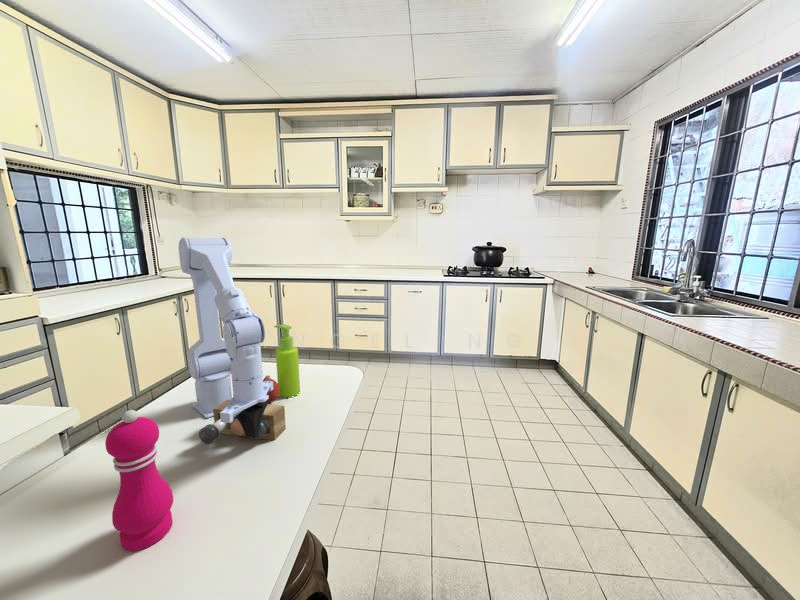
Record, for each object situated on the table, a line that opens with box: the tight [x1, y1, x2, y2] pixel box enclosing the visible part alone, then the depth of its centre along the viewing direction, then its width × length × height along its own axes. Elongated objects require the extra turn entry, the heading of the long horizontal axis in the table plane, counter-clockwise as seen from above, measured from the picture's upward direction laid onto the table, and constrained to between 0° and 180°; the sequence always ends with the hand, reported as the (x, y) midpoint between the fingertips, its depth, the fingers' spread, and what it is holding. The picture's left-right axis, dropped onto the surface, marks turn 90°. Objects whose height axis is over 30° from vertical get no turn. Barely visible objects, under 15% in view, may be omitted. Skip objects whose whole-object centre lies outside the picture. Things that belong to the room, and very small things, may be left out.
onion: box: [263, 374, 280, 404], centre depth 89 cm, size 6×6×8 cm
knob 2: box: [254, 418, 270, 440], centre depth 75 cm, size 4×6×4 cm, turn 169°
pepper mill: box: [104, 409, 174, 552], centre depth 49 cm, size 7×7×20 cm
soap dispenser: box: [274, 323, 301, 398], centre depth 94 cm, size 6×7×20 cm
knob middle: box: [231, 419, 245, 437], centre depth 76 cm, size 4×6×4 cm, turn 169°
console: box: [213, 400, 287, 441], centre depth 77 cm, size 15×4×6 cm, turn 79°
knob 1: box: [198, 419, 231, 445], centre depth 73 cm, size 4×6×4 cm, turn 169°
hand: (252, 436), depth 70 cm, fingers closed
